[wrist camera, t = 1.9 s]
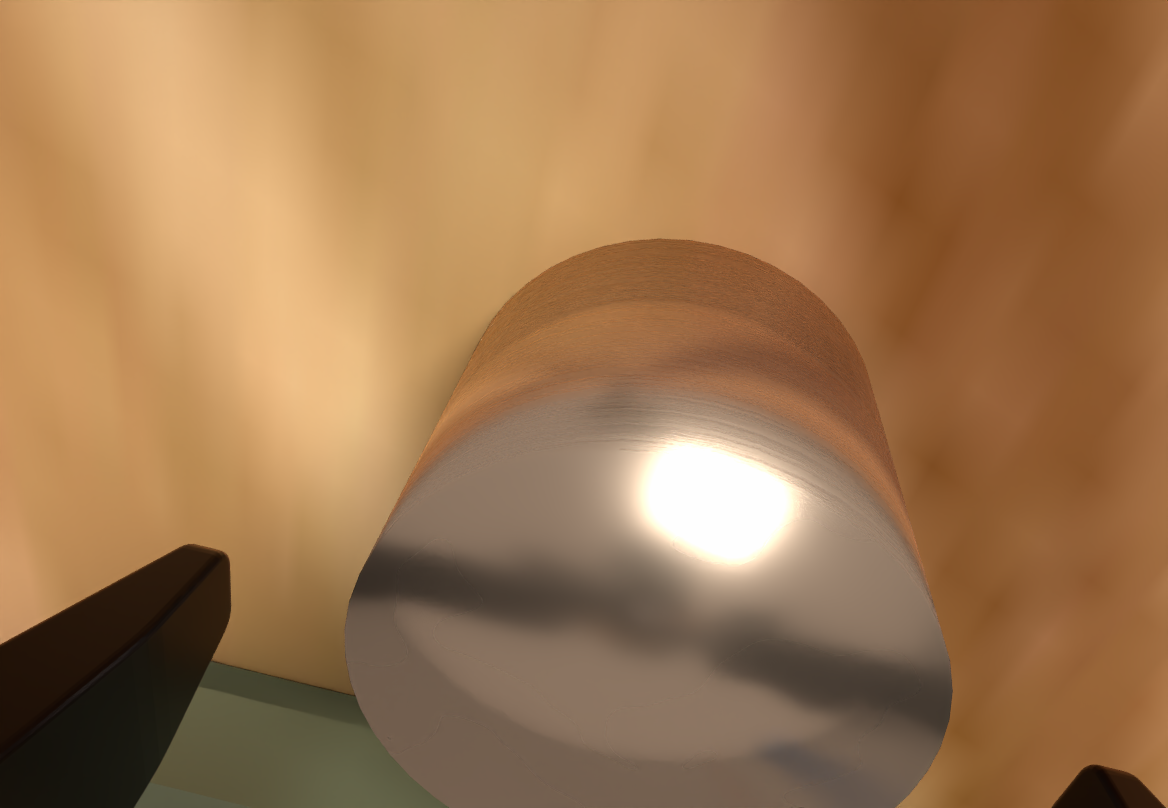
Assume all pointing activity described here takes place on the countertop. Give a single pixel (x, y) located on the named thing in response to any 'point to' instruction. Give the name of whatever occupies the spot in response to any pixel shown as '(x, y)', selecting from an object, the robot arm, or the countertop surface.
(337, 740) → the socket frame
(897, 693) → the silver rounded cylinder
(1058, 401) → the countertop surface
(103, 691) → the robot arm
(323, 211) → the countertop surface
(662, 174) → the countertop surface
